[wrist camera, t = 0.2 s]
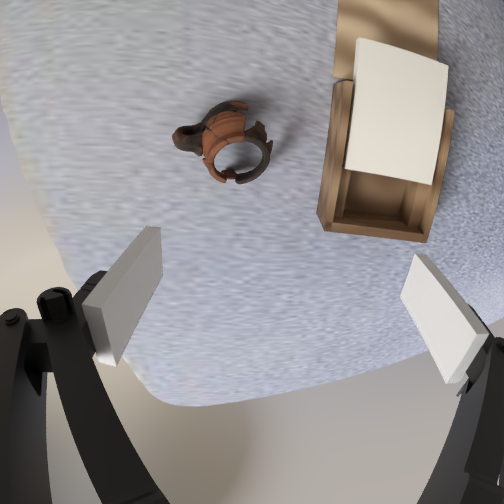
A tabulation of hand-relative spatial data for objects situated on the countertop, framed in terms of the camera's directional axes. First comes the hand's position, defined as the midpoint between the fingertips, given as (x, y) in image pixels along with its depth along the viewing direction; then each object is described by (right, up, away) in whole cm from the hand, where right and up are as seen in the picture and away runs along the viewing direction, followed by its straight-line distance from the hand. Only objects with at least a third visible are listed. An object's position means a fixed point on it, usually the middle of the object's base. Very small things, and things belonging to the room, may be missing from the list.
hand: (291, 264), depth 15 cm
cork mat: (+17, +30, +15) cm, 38 cm away
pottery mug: (-5, +16, +24) cm, 29 cm away
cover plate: (+15, +17, +16) cm, 28 cm away
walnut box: (+15, +13, +23) cm, 31 cm away
